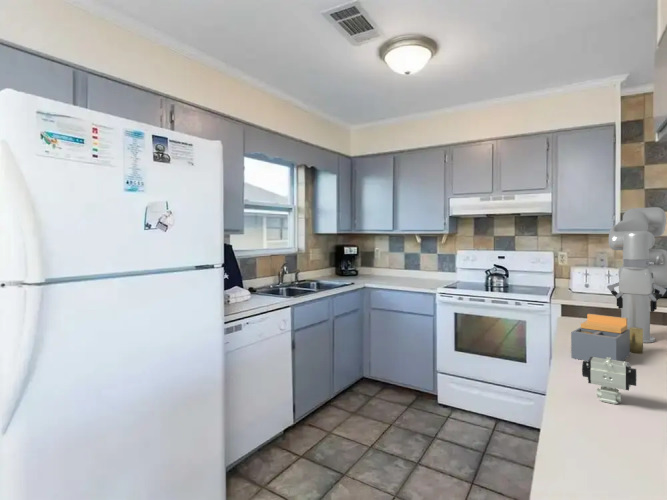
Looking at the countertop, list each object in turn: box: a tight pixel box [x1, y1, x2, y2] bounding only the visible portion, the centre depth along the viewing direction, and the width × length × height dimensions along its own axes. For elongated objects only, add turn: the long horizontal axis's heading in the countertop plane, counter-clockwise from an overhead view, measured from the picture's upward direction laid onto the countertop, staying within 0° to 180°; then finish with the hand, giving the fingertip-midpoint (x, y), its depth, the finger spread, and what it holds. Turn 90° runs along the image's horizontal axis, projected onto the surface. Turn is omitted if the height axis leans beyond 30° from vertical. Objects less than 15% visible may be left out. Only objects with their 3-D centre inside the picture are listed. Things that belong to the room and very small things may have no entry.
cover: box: [580, 313, 628, 333], centre depth 144 cm, size 9×12×4 cm
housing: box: [570, 326, 631, 362], centre depth 141 cm, size 18×14×10 cm
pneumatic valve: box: [581, 357, 638, 405], centre depth 104 cm, size 6×12×12 cm, turn 50°
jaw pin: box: [630, 327, 644, 355], centre depth 145 cm, size 4×4×9 cm
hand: (636, 309), depth 144 cm, fingers open, 9 cm apart
